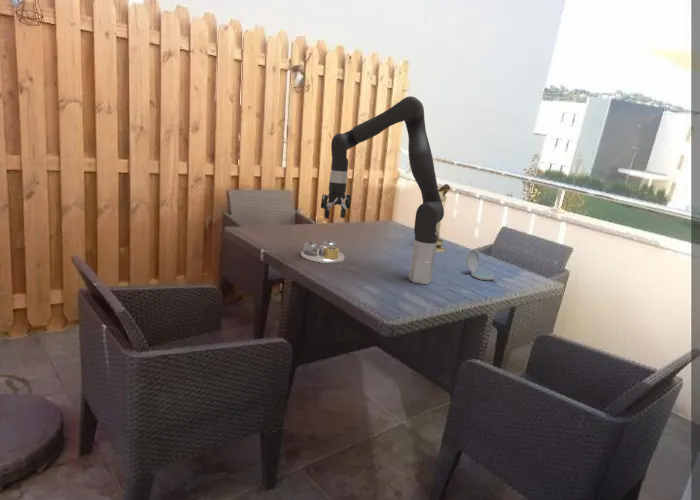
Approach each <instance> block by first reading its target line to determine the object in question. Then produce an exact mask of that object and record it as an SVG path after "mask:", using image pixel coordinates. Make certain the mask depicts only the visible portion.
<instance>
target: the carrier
mask: <svg viewBox="0 0 700 500" xmlns="http://www.w3.org/2000/svg"><path fill="white" fill-rule="evenodd" d="M336 244H337V243H336V241H333V240H322V244H320V245H319V247H318V243H315V242H312V241H306V242H303V250H301V251H300V256H302V257H301V258H303V259H304V258H305V259H304V260H306V259H307V260H306V261H309V260H310V261H309V262H312V261H314V262H313V263H318V262H320V264H339V263H342V262H344V261H345V257H346V255H345V254H344V253H342V252H340V251H339V255H338V259H337V260H328V259H325V258H324V253H325V247H329V246H331V247H330V249H334V247H336ZM338 262H339V263H338Z"/></svg>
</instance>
